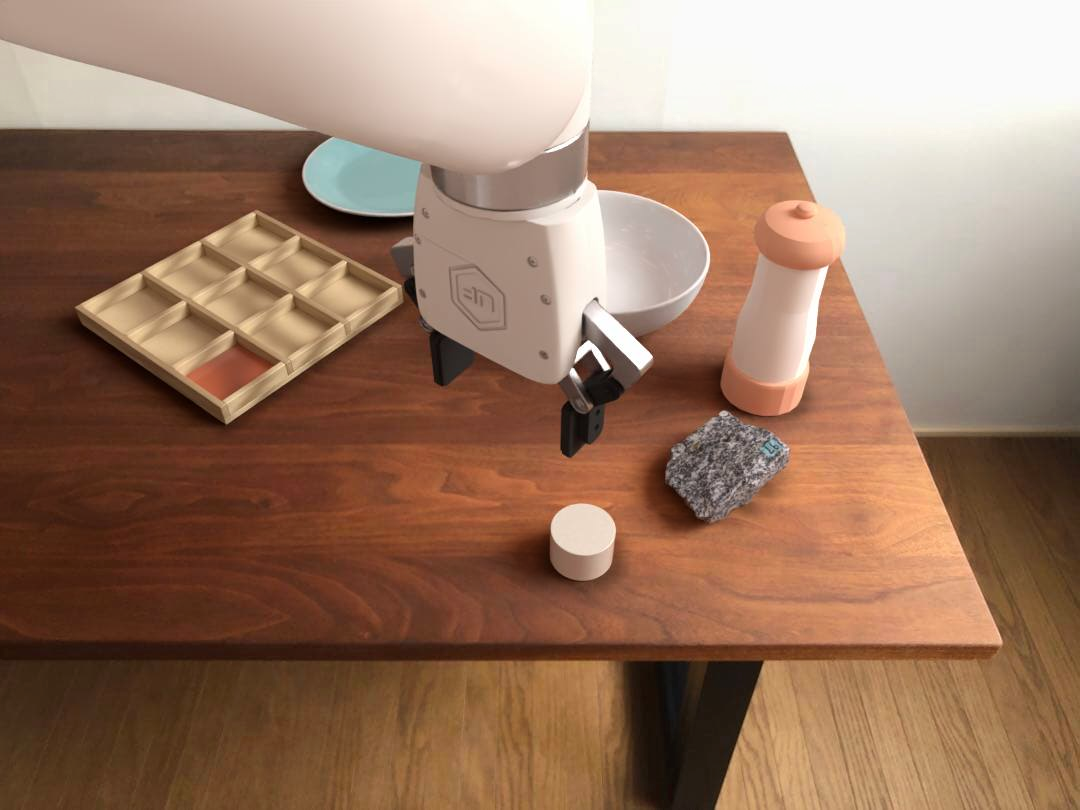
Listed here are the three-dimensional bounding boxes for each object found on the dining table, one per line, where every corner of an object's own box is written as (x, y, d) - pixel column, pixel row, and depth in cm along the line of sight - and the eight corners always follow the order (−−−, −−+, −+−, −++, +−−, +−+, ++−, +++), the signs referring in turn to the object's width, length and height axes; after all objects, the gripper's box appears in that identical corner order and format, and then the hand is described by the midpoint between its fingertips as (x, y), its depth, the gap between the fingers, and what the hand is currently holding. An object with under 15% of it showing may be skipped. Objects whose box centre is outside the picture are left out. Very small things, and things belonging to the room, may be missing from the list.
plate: (266, 188, 104) (261, 166, 102) (405, 121, 117) (403, 100, 115) (395, 262, 94) (393, 239, 92) (533, 180, 106) (533, 158, 104)
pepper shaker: (795, 363, 83) (847, 181, 70) (807, 418, 78) (865, 233, 65) (717, 359, 84) (754, 177, 70) (723, 414, 79) (764, 229, 65)
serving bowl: (731, 355, 84) (743, 297, 79) (512, 385, 81) (512, 326, 76) (664, 233, 99) (671, 178, 94) (476, 254, 95) (474, 198, 91)
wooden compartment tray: (226, 425, 77) (220, 407, 75) (81, 324, 86) (74, 307, 85) (403, 302, 89) (401, 285, 88) (260, 225, 99) (256, 209, 97)
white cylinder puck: (588, 592, 65) (590, 566, 63) (536, 558, 67) (537, 532, 65) (625, 550, 68) (628, 524, 66) (574, 519, 70) (576, 493, 68)
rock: (637, 480, 73) (642, 445, 70) (725, 427, 77) (733, 392, 74) (703, 541, 69) (711, 506, 66) (792, 481, 73) (803, 446, 70)
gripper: (322, 128, 44) (369, 381, 56) (617, 254, 36) (597, 514, 48) (426, 73, 48) (449, 319, 60) (709, 176, 41) (669, 433, 53)
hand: (515, 406), depth 54 cm, fingers open, 9 cm apart
